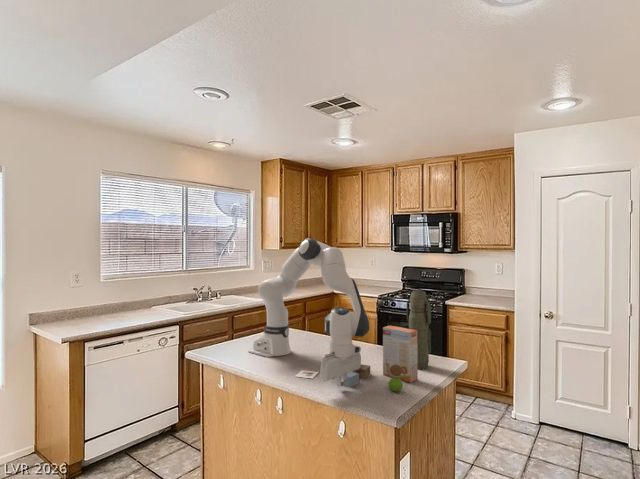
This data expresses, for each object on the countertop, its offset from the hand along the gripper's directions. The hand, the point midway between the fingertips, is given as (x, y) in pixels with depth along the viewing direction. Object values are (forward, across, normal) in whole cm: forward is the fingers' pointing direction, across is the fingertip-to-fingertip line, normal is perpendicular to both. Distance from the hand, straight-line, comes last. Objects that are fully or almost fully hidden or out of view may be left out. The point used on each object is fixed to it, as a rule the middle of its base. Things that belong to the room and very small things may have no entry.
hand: (341, 385), depth 151 cm
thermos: (+2, +46, -6) cm, 47 cm away
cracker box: (+2, +28, -8) cm, 29 cm away
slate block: (+2, +8, +3) cm, 8 cm away
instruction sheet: (+2, +2, +22) cm, 22 cm away
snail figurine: (+2, +14, -15) cm, 21 cm away
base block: (+2, +18, +5) cm, 19 cm away
